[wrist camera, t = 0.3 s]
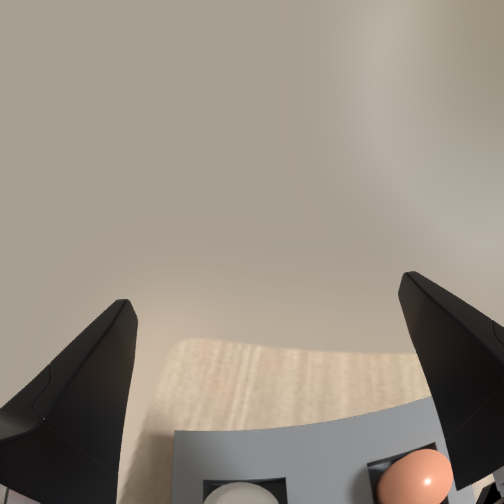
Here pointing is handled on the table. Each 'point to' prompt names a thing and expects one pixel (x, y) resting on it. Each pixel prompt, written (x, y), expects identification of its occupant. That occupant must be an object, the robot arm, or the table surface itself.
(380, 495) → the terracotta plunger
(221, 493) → the steel plunger
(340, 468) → the panel
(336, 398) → the table surface
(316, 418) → the table surface
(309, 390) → the table surface
